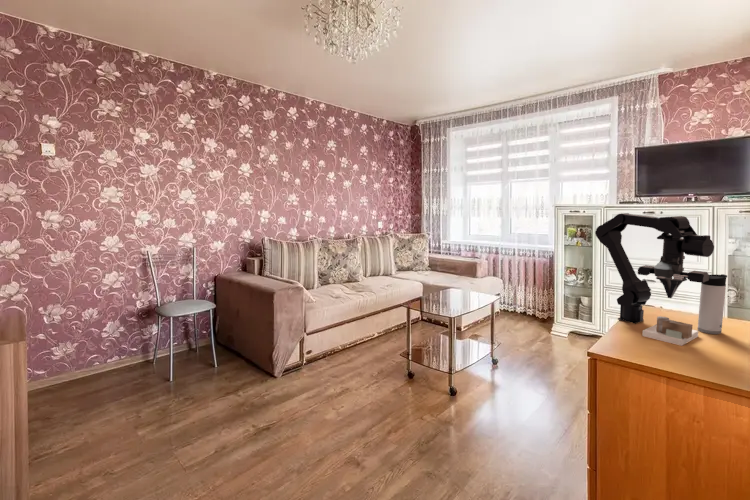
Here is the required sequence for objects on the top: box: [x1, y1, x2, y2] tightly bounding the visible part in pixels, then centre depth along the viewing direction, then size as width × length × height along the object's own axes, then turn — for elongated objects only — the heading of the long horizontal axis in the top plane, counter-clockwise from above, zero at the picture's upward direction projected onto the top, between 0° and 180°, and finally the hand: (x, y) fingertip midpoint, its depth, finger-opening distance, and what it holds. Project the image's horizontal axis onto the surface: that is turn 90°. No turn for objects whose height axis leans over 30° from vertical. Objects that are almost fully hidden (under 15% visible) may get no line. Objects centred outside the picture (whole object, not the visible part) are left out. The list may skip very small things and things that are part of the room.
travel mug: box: [697, 274, 728, 335], centre depth 131 cm, size 6×7×20 cm
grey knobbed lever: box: [656, 315, 693, 339], centre depth 125 cm, size 9×3×5 cm, turn 31°
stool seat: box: [641, 323, 699, 346], centre depth 129 cm, size 11×14×4 cm
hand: (669, 297), depth 132 cm, fingers closed
